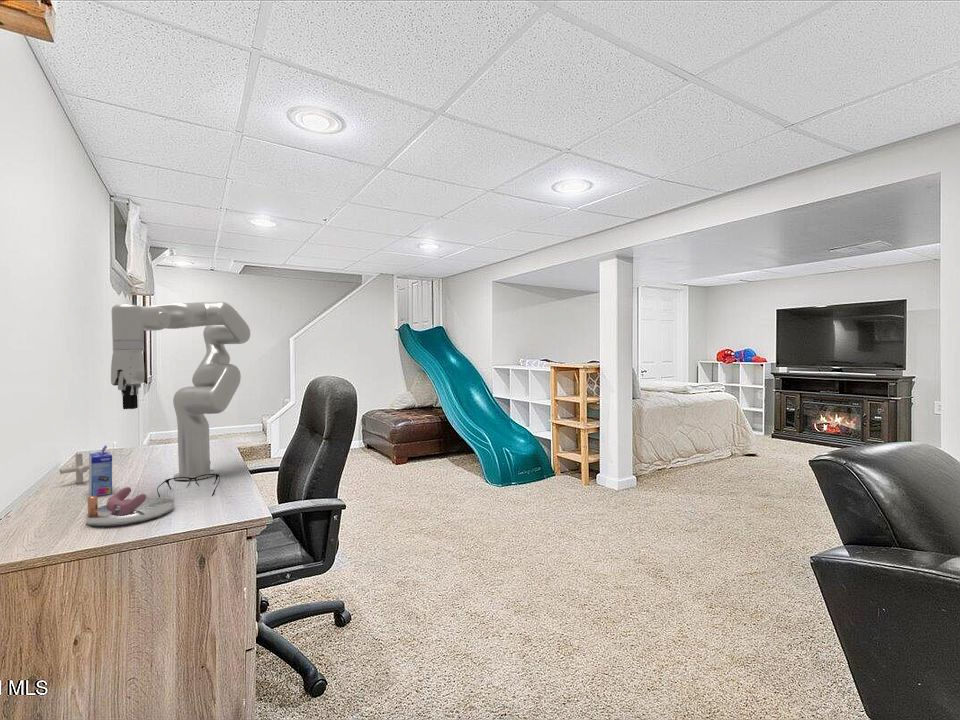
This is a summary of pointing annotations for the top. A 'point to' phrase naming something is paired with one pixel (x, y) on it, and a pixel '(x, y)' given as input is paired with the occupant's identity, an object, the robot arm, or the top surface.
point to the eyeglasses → (190, 481)
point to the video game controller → (124, 502)
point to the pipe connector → (77, 468)
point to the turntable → (144, 512)
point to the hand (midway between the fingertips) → (130, 408)
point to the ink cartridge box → (100, 473)
